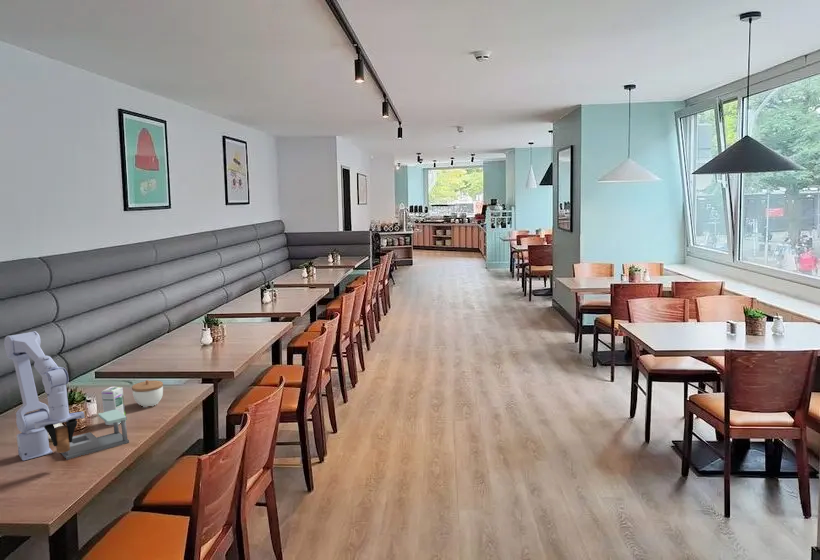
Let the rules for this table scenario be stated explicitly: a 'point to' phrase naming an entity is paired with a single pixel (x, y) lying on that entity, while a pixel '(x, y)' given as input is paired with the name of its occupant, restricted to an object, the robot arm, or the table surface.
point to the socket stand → (93, 444)
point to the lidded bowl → (148, 392)
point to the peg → (62, 439)
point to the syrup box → (113, 400)
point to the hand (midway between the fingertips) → (62, 443)
